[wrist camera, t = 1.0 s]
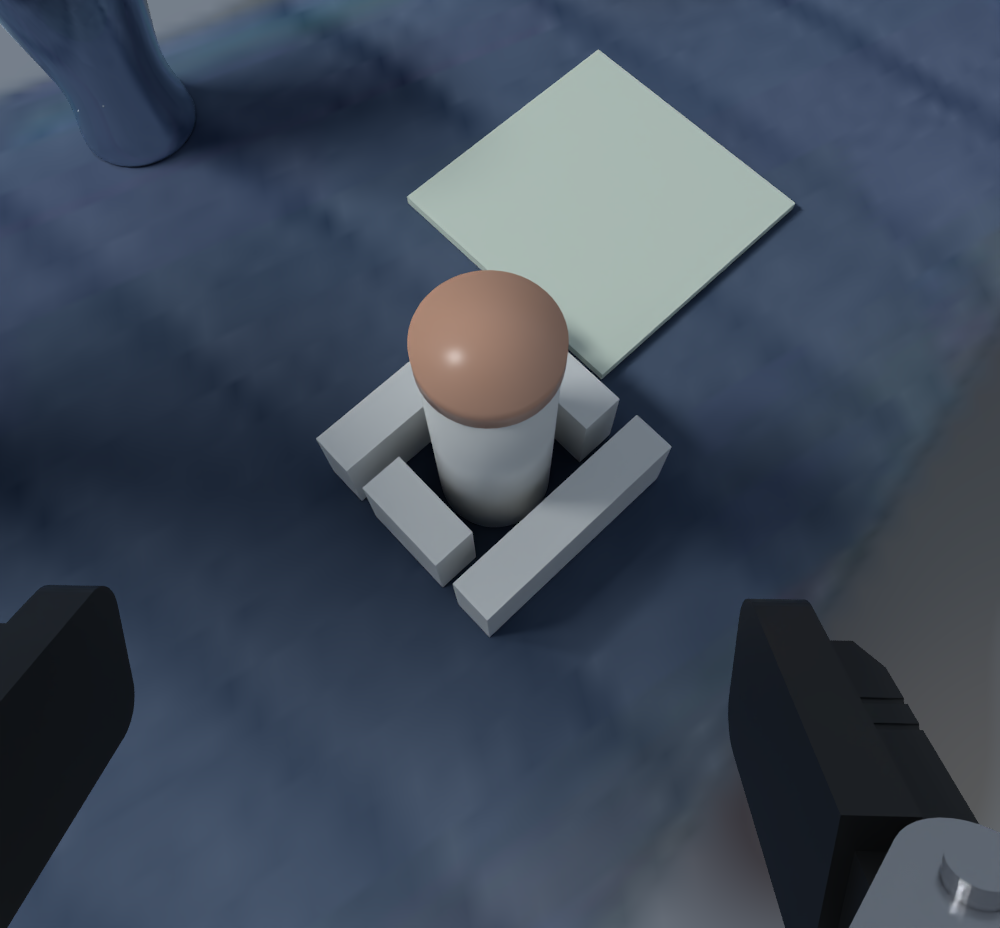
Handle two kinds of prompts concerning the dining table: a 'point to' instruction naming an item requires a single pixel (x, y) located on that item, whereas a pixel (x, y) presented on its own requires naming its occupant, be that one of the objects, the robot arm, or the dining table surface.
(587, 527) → the frame
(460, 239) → the pad
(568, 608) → the dining table surface
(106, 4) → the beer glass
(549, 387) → the mushroom
